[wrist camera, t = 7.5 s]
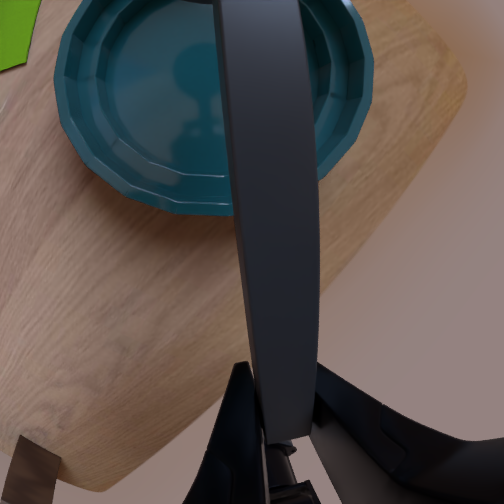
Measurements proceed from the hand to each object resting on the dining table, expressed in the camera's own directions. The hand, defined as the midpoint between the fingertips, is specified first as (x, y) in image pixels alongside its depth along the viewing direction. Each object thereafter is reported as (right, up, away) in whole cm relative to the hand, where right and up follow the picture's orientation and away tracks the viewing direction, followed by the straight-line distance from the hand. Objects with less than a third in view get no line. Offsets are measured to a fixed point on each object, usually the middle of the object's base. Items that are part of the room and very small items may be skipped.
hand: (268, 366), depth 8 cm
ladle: (-1, +7, -1) cm, 8 cm away
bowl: (-3, +14, +5) cm, 15 cm away
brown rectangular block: (-28, -23, +14) cm, 39 cm away
